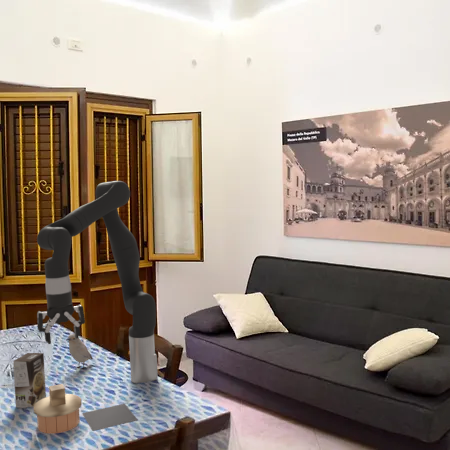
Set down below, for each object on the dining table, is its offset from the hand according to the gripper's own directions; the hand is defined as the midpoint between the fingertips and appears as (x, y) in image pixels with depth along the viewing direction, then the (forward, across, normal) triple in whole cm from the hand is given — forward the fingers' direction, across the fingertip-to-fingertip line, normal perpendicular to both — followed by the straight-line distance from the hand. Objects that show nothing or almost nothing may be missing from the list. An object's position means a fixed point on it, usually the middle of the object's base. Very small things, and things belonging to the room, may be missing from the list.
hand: (63, 340), depth 169 cm
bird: (+26, -14, -42) cm, 51 cm away
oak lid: (+18, +4, +6) cm, 20 cm away
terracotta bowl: (+24, +5, +6) cm, 26 cm away
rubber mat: (+25, -10, +10) cm, 29 cm away
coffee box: (+25, +9, -17) cm, 31 cm away
